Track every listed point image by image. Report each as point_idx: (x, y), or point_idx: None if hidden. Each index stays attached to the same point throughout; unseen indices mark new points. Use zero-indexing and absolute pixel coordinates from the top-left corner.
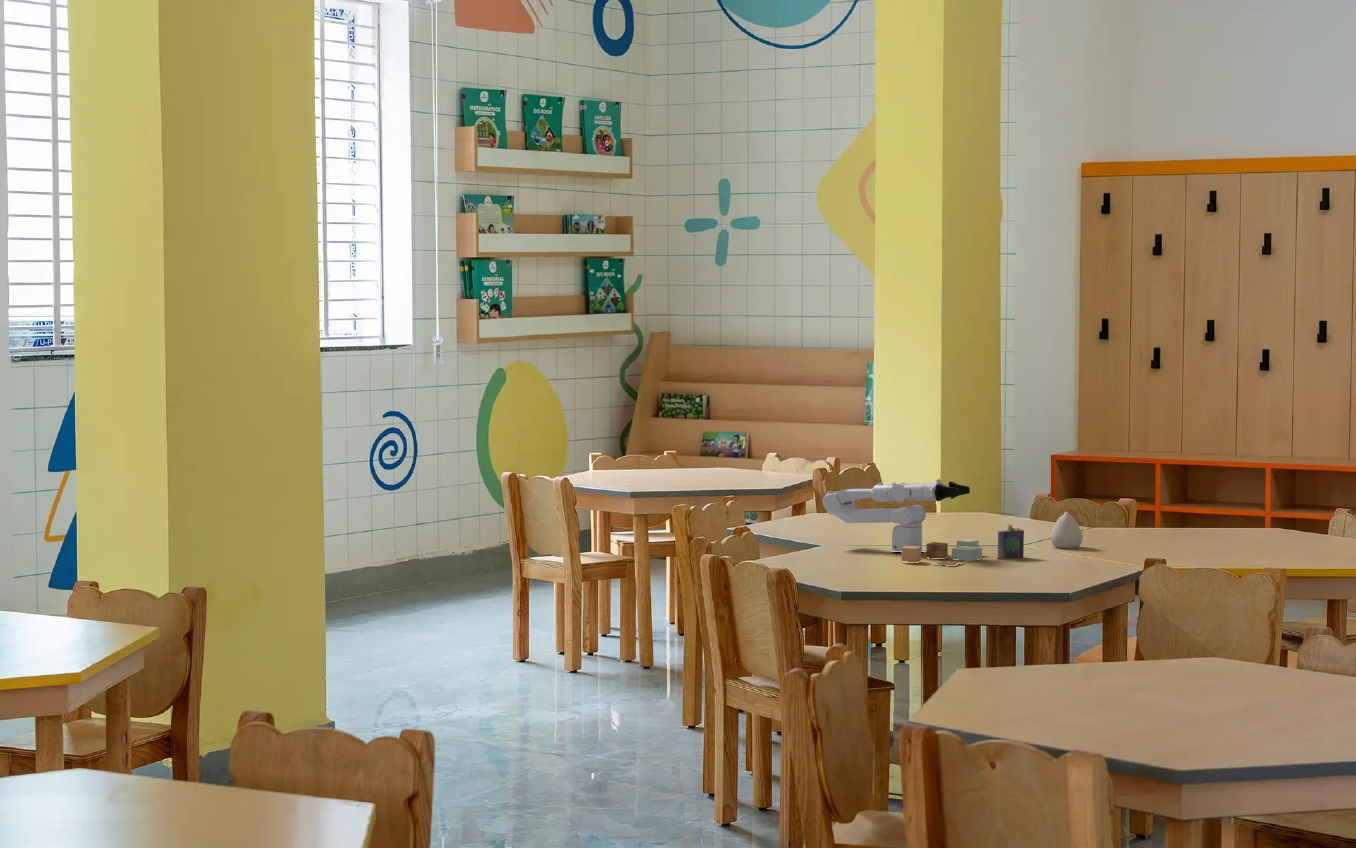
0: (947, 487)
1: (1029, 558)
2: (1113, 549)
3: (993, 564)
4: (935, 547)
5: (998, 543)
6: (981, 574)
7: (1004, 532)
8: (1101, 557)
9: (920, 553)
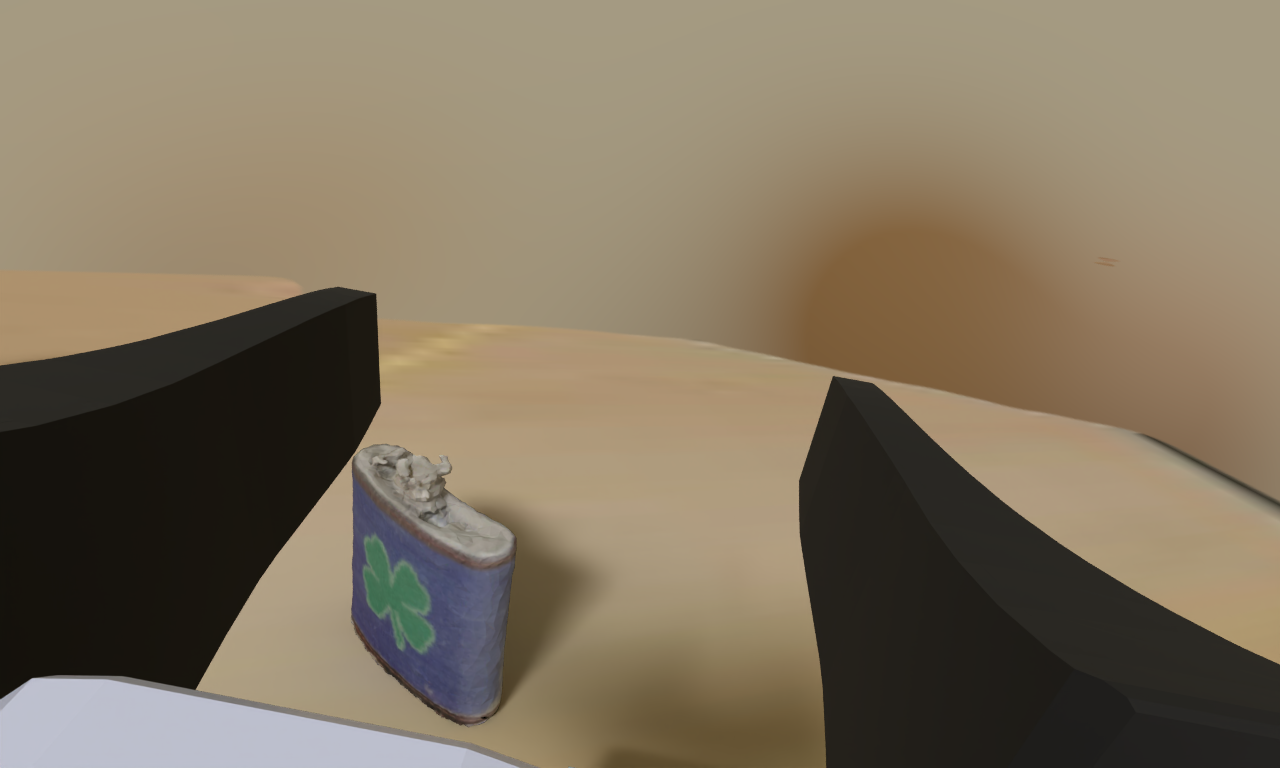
0: (1002, 504)
1: None
2: (17, 337)
3: (761, 701)
4: None
5: (498, 632)
6: None
7: (502, 527)
8: None
9: None
